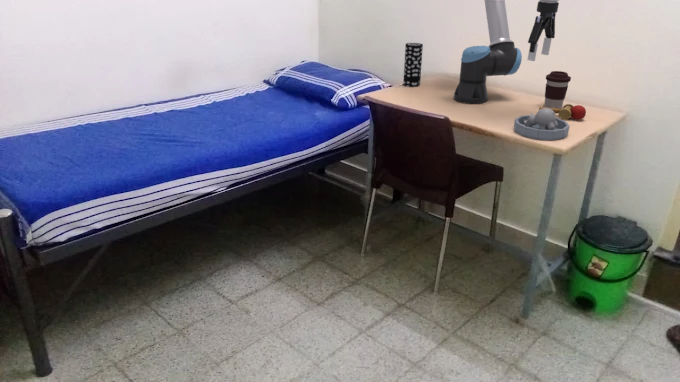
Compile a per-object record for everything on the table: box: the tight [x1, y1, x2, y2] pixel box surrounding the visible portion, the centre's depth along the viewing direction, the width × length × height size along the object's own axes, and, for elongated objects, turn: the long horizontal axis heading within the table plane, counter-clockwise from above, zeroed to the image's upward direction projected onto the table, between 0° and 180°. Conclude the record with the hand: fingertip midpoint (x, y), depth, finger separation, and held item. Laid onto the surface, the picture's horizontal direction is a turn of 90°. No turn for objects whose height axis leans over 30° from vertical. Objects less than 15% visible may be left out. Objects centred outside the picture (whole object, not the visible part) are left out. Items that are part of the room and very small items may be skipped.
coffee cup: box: [543, 70, 572, 109], centre depth 225 cm, size 10×10×15 cm
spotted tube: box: [402, 42, 424, 88], centre depth 258 cm, size 8×8×20 cm
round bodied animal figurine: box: [524, 108, 558, 130], centre depth 198 cm, size 7×12×8 cm, turn 50°
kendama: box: [538, 103, 587, 121], centre depth 215 cm, size 8×6×18 cm
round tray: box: [513, 114, 571, 141], centre depth 198 cm, size 19×19×4 cm
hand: (538, 57), depth 208 cm, fingers open, 13 cm apart
